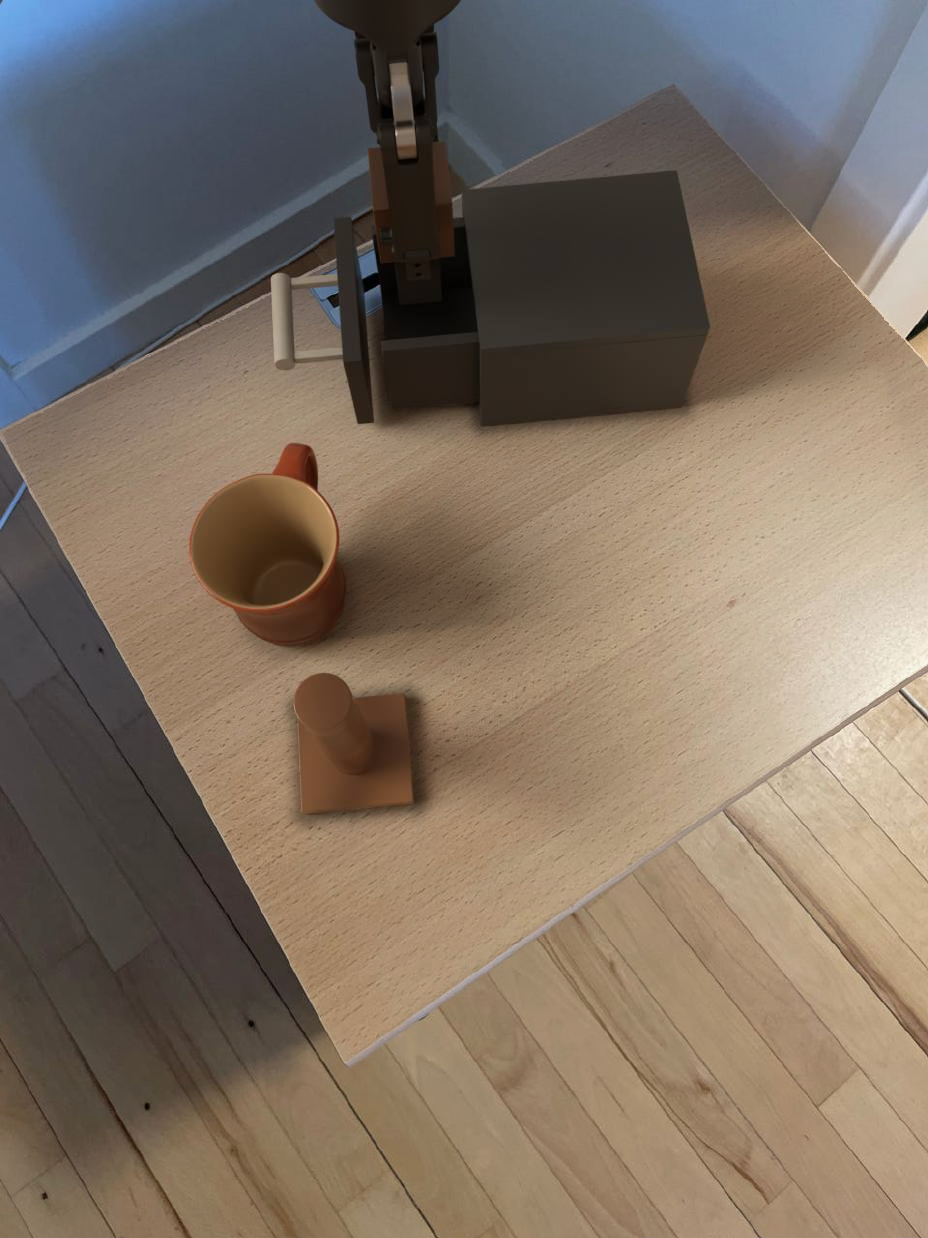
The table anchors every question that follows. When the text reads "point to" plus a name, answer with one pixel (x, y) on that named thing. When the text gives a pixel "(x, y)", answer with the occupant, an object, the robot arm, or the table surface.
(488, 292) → the cabinet
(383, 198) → the block
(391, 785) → the post
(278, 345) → the drawer
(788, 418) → the table surface
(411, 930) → the table surface
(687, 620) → the table surface
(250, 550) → the mug
